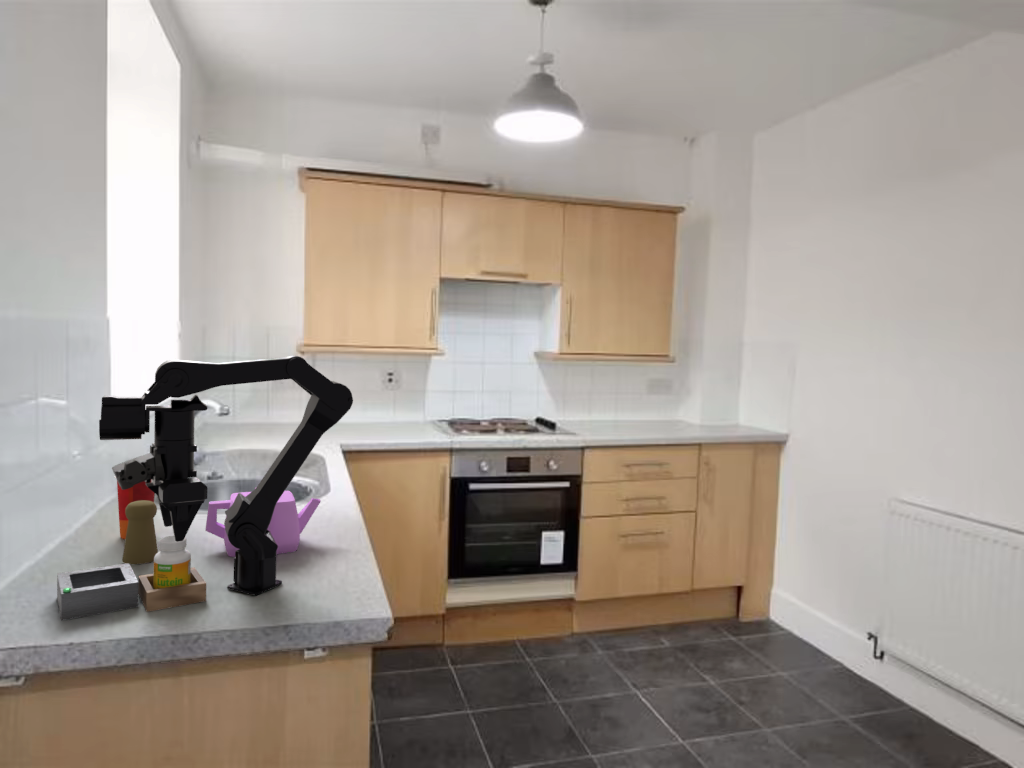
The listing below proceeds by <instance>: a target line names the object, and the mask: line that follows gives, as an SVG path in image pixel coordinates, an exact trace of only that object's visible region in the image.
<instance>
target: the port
mask: <svg viewBox="0 0 1024 768" xmlns="http://www.w3.org/2000/svg"><path fill="white" fill-rule="evenodd" d="M137 578H138V577H136V574H135V572H134V570H133V568H132V565H131V564H129V563H121V564H119V563H118V564H113V565H105V566H101V567H100V566H99V567H92V568H84V569H79V570H70V571H64V572H57V573H56V599H57V604H58V611H59V616H60V621H68V620H72V619H79V618H84V617H90V616H97V615H100V614H106V613H112V612H117V611H123V610H129V609H134V608H138V607H139V594H138V579H137Z"/></svg>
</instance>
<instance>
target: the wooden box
mask: <svg viewBox="0 0 1024 768" xmlns="http://www.w3.org/2000/svg"><path fill="white" fill-rule="evenodd" d="M137 578H138V579H137V580H138V598H139V599H140V601H141V604H143V607H144V609H145V611H146V613H148V612H155V611H159V610H160V611H161V610H164V609H166V610H167V609H170V608H176V607H181V606H187V605H188V606H189V605H192V604H196V603H203V602H207V582H206V581H205V579H204V578H203V576H202V575H201V574H200V573H199V571H198V570H197V568H196V567H191V573H190V584H184V585H178V586H172V587H166V588H160V589H154V590H153V579H154V573H148V574H141V575H138V577H137Z"/></svg>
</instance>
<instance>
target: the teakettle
mask: <svg viewBox="0 0 1024 768" xmlns="http://www.w3.org/2000/svg"><path fill="white" fill-rule="evenodd" d="M255 489H256V487H255V488H254V490H255ZM251 492H252V491H243V492H233V493H232V494H230V499H227V500H226V499H225V500H215V501H214V500H213V501H209V502H208V507H207V508H208V509H207V516H206V523H205V532H208V533H209V534H211V535H214V536H216V537H218V538H220V539H223V542H224V547H225V551H226V554H227V556H228V557H230V558H235V551H237V550H239V549H238V548H236V547H234V546H233V545H232V544H231V543H230V541H229V539H228V536H227V534H226V531H225V526H224V524H223V523H221V522H218V519H217V518H218V510H228V509H229V508H230V507H231V506H232V505H233V503H234V501H235V499H236V497H237V495H238V493H241V494H242V495H243V496H245V497H246V496H247V495H249V494H250V493H251ZM321 501H322V500H321V499H320V498H313V497H311V498H310V500H309V501H308V502H307V503H306V505H304V507H303V508H302V509H301V510H300V512H298V508H297V505H296V499H295V496H294V494H293V493H292V492H291V491H290V490H285V491H284V492H283V494H282V495H281V497H280V498H279V500H278V501H277V503H276V506H275V509H274V512H273V515H272V519H271V522H270V524H269V526H268V528H267V530H269V531H270V533H271V534H272V536H273V538H274V540H275V542H276V543H277V545H278V548H277V551H276V552H277V553H276V555H280V554H281V553H282V554H288V553H287V552H290V553H295V552H297V551H296V550H298V548H299V545H300V539H301V538H300V537H301V534H302V532H303V531H304V529H305V528H306V526H307V525H308V523H309V521H310V520H311V518H312V516H313V515H314V513H315V511H316V510H317V508H318V507H319V505H320V503H321ZM226 517H227V516H226V515H225V518H226ZM294 551H295V552H294Z"/></svg>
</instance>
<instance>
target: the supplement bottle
mask: <svg viewBox="0 0 1024 768" xmlns="http://www.w3.org/2000/svg"><path fill="white" fill-rule="evenodd" d="M186 548H187V537H186V536H185V538H184V540H183V541H178V542H177V541H175V537H174V535H169V536H165V537H162V538H160V539H159V540H158V550H160V551H158V553H157V554H156V555H155V557H154V561H153V574H154V579H153V590H154V589H160V588H166V587H172V586H178V585H184V584H190V573H191V568H192V563H191V562H192V559H191V558H192V554H191V552H190V551H189V550H188V549H186Z"/></svg>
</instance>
